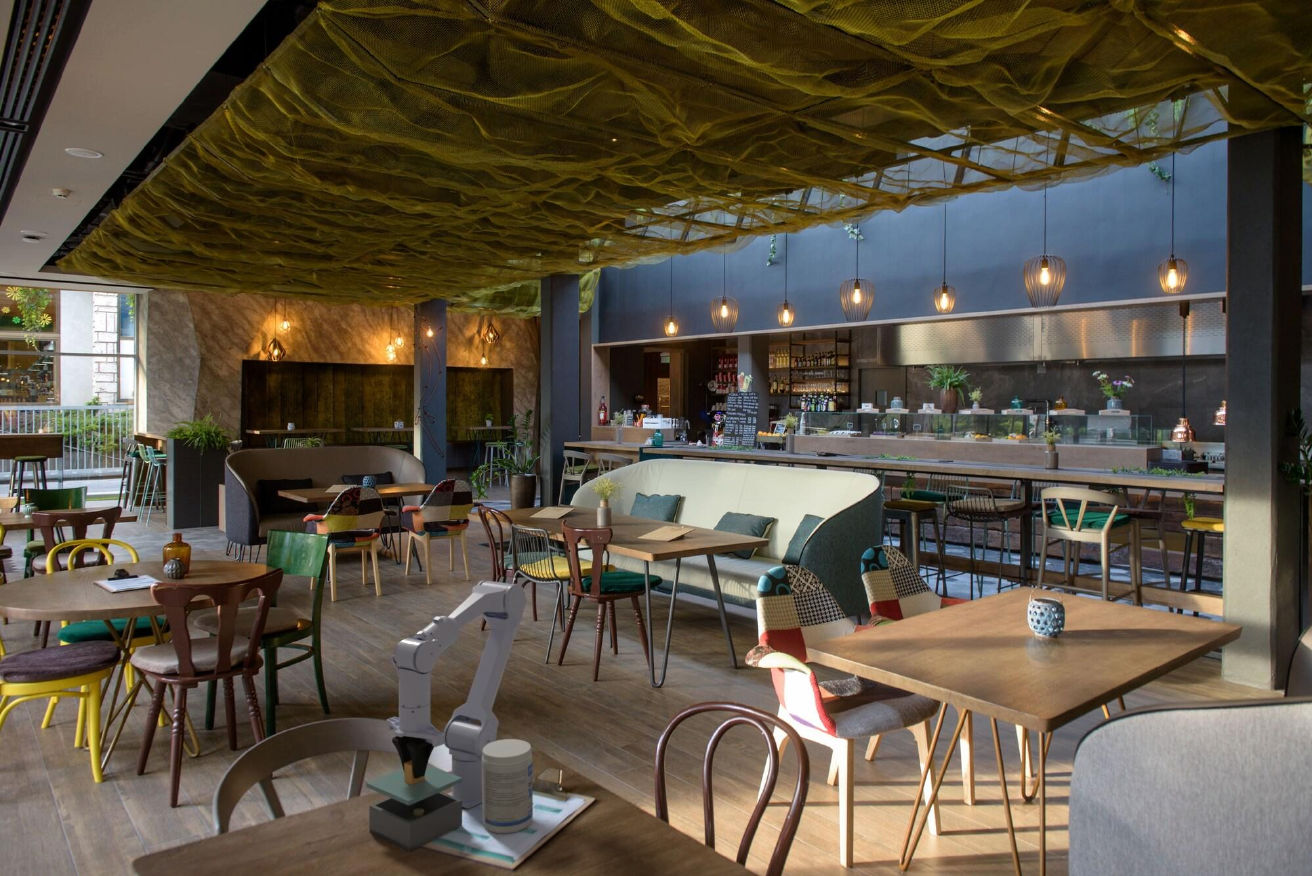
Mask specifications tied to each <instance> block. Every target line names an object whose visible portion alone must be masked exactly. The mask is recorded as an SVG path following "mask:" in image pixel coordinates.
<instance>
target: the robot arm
mask: <svg viewBox="0 0 1312 876" xmlns="http://www.w3.org/2000/svg"><path fill="white" fill-rule="evenodd" d="M527 603H528V599H527V596H526V592H525V589H524V587H523V586H522V585H521V584H519V583H508V582H501V581H500V582H499V581H493V580H492V581H491V580H488V579H482V580H480V581H479V582H478V583H477V585H474V586H473V587H472V589H471V594H470V595H469V596H468V597H466V599H465V600H464V601H463V602H462V603H461V604H460V605H459V606H458V607H456V608H455V609H454V610H453V611H452V612H451V613H450V615H448V616H447V615H440V616H437V615H436V616H435V617H434V618H432V622H430V623H428V624H427V625H426V626H425V627H424V628H423V629H421V630H419V631H418V632H417V633H416V634H415V635H414V636H413V637H412V638H410V637H407V638H403V640H401V641H399V642H398V643H397V644H396V646H395V647H394V651H393V655H391V663H392V664H393V666H394V667H395V670H396V676H397V678H398V717H397V716H393V717H389V718H388V719H386V721H385V722H386V724H385V725H386V727H385V729H386V730H387V731H392V730H393V731H394V737H392V739H391V743H392V744H393V745H394V747H395V748H396V752H397V753H398V756H399V759H400V761H401V762H400V763H401V765H402V767H401V768H403V770H404V763H406V762H408V761H411V760H412V770H413V776H414V778H415V779H417V778H420V777H422V776H425V772H426V768H427V764H428V765H429V760H430V757H431V756H432V755H431V754H432V752H433V750H434V748H437V747H440V746H442V745H444V747H445V748H447V749H448V754H449V755H450V756H451V774H454V775H456V776H459V777H461V778H462V782H461V783H459V784H456V785H454V786H452V787H451V792H448V793H447V794H449V795H451V796H453V797H456V798H458V799H461V800H462V808H465V809H467V810H468V809H471V808H473V807H475V806H478V805H480V804H482V754H483V748H484V747H485V746H486V745H487V744H489V743H491V742H494V741H498V740H497V735H498V727H499V726H500V722H499V720H498V718H497V716H496V715H495V713H494V711H493V707H494V704H495V700H496V697H497V695H498V692H499V691H498V690H499V688H500V684H501V681H502V678H503V675H504V672H505V670H506V665H507V663H508V660H509V655H510V653H511V651H512V648H513V647H512V646H513V644H514V642H515V638H516V636H517V632H518V629H519V626H520V624H521V621H522V617H523V614H524V612H525V608H526V605H527ZM480 616H482V617H483V619H484V620H485V621H486V622H487V623H488V626H489V628H490V631H489V634H488V637H487V641H486V643H485V646H484V649H483V652H482V655H481V658H480V662H479V664H478V667H477V670H476V672H475V676H474V679H473V681H472V685H471V688H470V690H469V693H468V696H467V700H466V702H464V704H461V705H460V706H459V707H457V708H455V709H453V712H452V716H451V718H450V720H449V721H448V722H447V723H446V724H445V727H444V730H443V732H441V731H440V730H438V729H437V728H436V727H435V726H434V725H433V724H432V723H431V671H432V670H433V669H434V667H435V666H436V664H437V662H438V659H439V658H440V657H441V654H442V653H443V652H445V650H446V649H448V647H450V646H451V645H452V644H453V643H455V642H456V641H457V640H458V639H459V636H460V630H461V629H463V628H464V627H466V626H468V624H470V623H471V622H472V621H474V620H476V619H477V618H479V617H480ZM472 720H474V721H472ZM476 721H477V722H476ZM478 721H479V722H478Z"/></svg>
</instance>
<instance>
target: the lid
mask: <svg viewBox="0 0 1312 876" xmlns="http://www.w3.org/2000/svg"><path fill="white" fill-rule="evenodd" d="M461 782H462V778H461V777H459V776H456V775H454V774H452V772H451V773H450V772H448V771H446V770H443V769H440V768H438V767H435V766H433V765H429V763H428V764H427V768H426V772H425V776H422V777H420V778H417V779H415V778H414V776H413V770H412V760H411V761H408V762H406V763H404V770H403V767H401V768H400V769H398V770H395V771H392V772H390V773H387V774H385V775H382V776H380V777H378V778H375V779H372V780H370V781H368V782H365V787H366V788H368V789H370V790H372V791H375V792H377V793H379V794H381V795H383V796H386V797H387V798H388V797H390V798H392V799H395V800H397V801H399V802H402V803H404V804H406V805H408V806H409V805H412V804H414V803H416V802H418V801H421V800H423V799H425V798H428V797H430V796H432V795H434V794H437V793H439V792H444V791H446V790H448V789H450V788H452V786H454V785H456V784H459V783H461Z"/></svg>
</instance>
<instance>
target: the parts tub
mask: <svg viewBox="0 0 1312 876" xmlns="http://www.w3.org/2000/svg"><path fill="white" fill-rule="evenodd" d="M368 810H369V813H368V814H369V815H368V817H369V820H368V821H369V826H368V827H369V833H371V834H373V835H375V836H377V837H380V838H381V839H383V840H385V841H387V842H389V843H390V844H391V843H392V844H394V846H395V845H396V847H400V848H401V849H403V850H405V851H408V852H410V853H411V852H413V851H415V850H417V849H419V848H421V847H423V846H425V845H427V844H429V843H431V842H433V841H435V840H437V839H439V838H441V837H444V836H445V835H447V834H449V833H451V832H453V831H455V830H457V829H460V828H461V827H463V807H462V800H461V799H458V798H456V797H453V796H451V795H449V794H448V793H446V792H444V791H441V792H439V793H437V794H434V795H432V796H430V797H428V798H425V799H423V800H421V801H418V802H416V803H414V804H412V805H409V806H408V805H406V804H404V803H402V802H399V801H397V800H395V799H392V798H390V797H388V796H387V798H384V799H382V800H379V801H377V802H374V803H373V804H369V809H368Z"/></svg>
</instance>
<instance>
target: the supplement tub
mask: <svg viewBox="0 0 1312 876" xmlns="http://www.w3.org/2000/svg"><path fill="white" fill-rule="evenodd" d="M533 784H534V783H533V752H532V746H531V744H530V743H529V742H528V741H526V740H523V739H515V738H508V739H498V740H496V741H494V742H491V743H489V744H487V745H486V746H485V747H484V748H483V754H482V803H481V806H482V807H481V810H482V811H481V812H482V815H481V816H482V824H483V826H484V828H485V829H487V830H488V831H491V832H492V833H495V834H511V833H517V832H519V831H522V830H524V829H526V828H527V827H528V826H530V825H531V823H532V822H533V814H534V813H533V812H534V810H533V804H534V800H533V799H534V797H533V790H534V789H533V788H534V787H533Z"/></svg>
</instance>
